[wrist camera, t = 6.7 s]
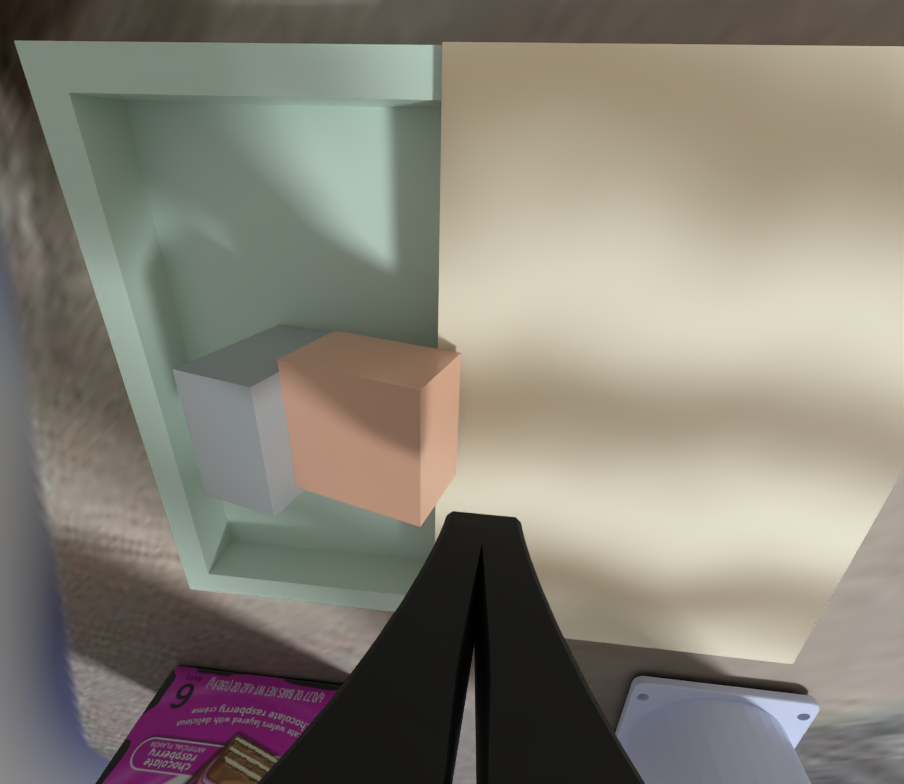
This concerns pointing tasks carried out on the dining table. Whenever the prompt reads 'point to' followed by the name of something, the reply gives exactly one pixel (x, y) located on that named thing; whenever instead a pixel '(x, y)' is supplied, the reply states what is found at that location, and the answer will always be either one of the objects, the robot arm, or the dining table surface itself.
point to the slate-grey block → (243, 419)
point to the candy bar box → (216, 728)
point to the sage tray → (252, 257)
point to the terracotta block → (373, 422)
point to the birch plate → (676, 325)
